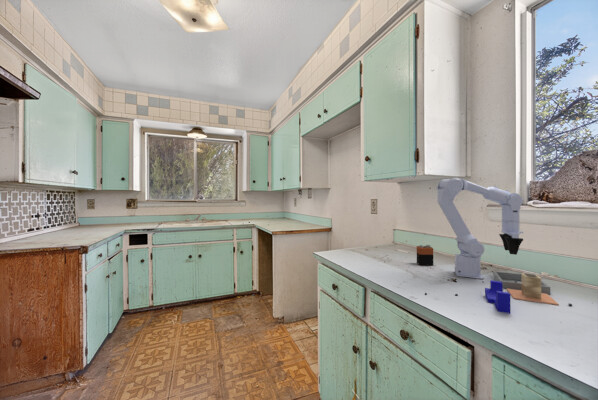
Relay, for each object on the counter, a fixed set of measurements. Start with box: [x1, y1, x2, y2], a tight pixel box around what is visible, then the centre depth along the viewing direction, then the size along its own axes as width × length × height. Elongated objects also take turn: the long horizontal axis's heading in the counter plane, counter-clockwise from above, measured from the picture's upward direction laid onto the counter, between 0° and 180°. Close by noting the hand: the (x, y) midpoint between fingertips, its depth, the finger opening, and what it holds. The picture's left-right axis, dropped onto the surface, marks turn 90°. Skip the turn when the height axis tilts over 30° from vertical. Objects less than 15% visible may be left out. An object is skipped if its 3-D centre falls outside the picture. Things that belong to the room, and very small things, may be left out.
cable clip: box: [484, 279, 511, 314], centre depth 78 cm, size 12×4×6 cm, turn 150°
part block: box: [520, 272, 542, 299], centre depth 83 cm, size 4×4×7 cm
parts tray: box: [492, 270, 551, 295], centre depth 94 cm, size 14×14×2 cm
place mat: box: [505, 288, 560, 306], centre depth 83 cm, size 11×9×1 cm
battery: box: [416, 244, 434, 267], centre depth 123 cm, size 4×7×10 cm, turn 83°
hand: (510, 252), depth 104 cm, fingers open, 7 cm apart
